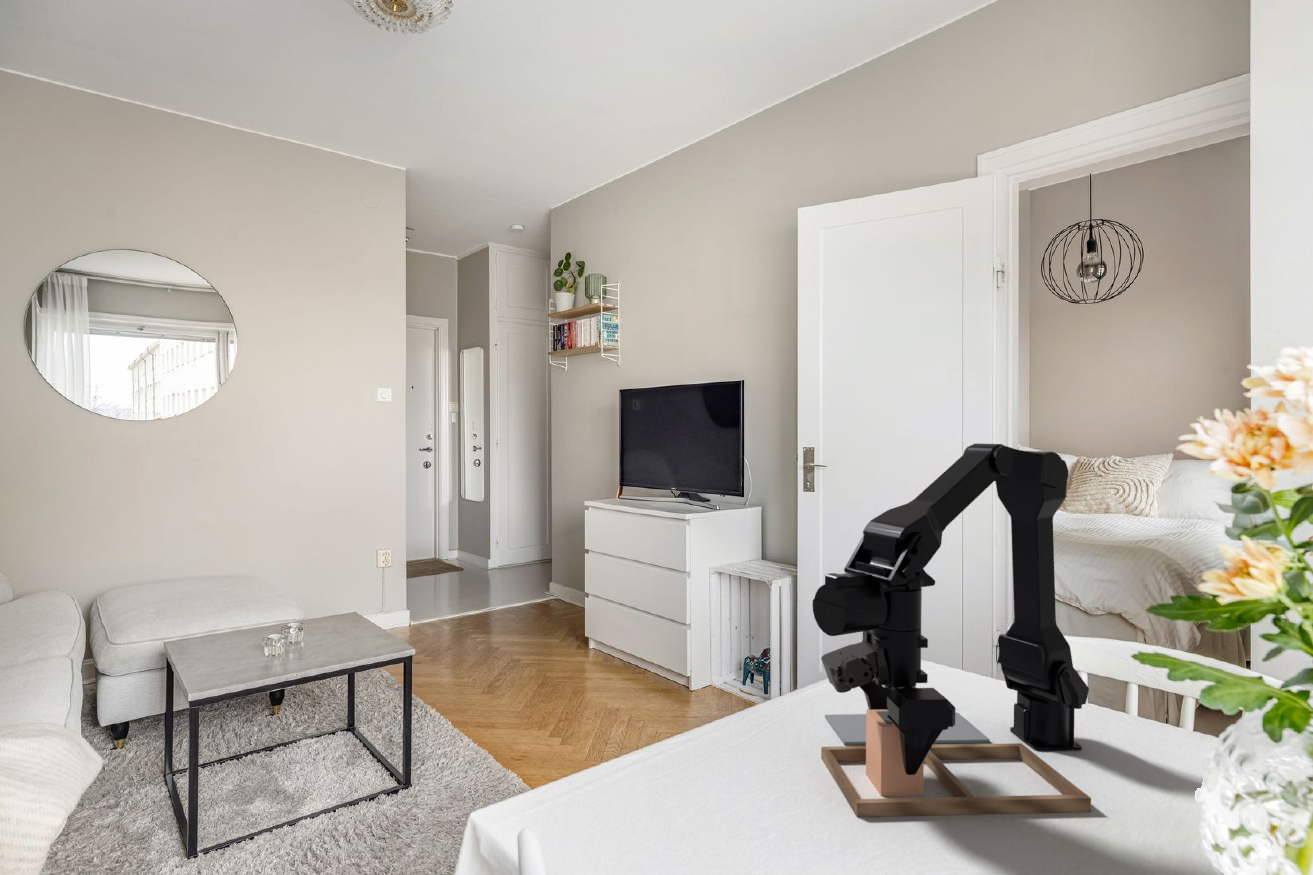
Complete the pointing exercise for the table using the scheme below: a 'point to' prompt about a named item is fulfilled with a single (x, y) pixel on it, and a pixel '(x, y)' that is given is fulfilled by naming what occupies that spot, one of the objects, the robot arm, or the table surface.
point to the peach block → (888, 758)
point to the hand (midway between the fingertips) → (894, 755)
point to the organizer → (959, 785)
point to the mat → (963, 731)
